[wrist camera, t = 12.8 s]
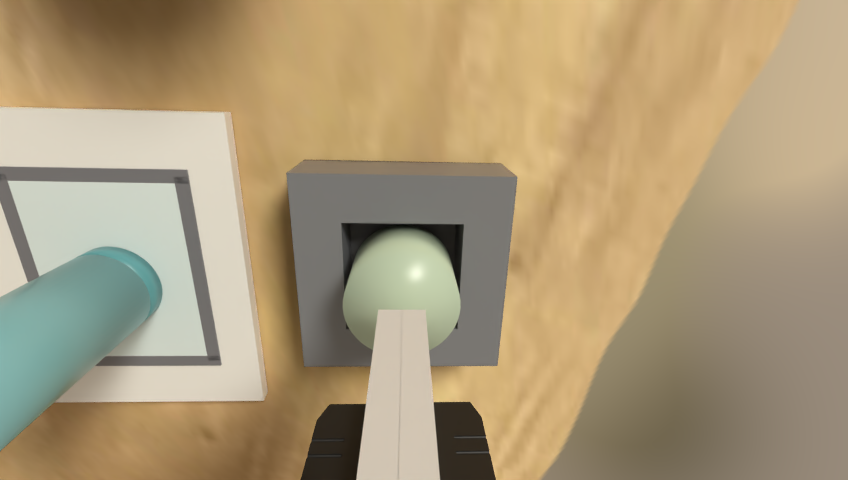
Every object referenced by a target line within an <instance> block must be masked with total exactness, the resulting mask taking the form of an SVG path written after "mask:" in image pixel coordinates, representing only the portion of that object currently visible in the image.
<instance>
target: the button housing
mask: <svg viewBox="0 0 848 480" xmlns="http://www.w3.org/2000/svg"><path fill="white" fill-rule="evenodd" d="M286 174H287V185H288V195H289V206H290V217H291V228H292V239H293V250H294V261H295V272H296V283H297V293H298V304H299V315H300V326H301V337H302V348H303V359H304V367H334V366H371V362H372V354H373V350H372V349H370V348H368V347H367V346H365V345H364V344H362V343H361V342H360V341H359V340H358V339H357V338H356V337H355V336H354V335H353V334H352V332H351V331H350V329H349V327H348V325H347V323H346V321H345V317H344V314H343V297H344V292H345V289H346V285H347V282H348V279H349V275H350V272H351V269H352V265H353V262H354V259H355V256H356V253H357V251H358V249H359V247H360V246H361V244H362V243H363V242H364V241H365V240H366V239H367V238H368V237H369V236H370V235H371V234H373V233H374V232H376V231H378V230H380V229H382V228H385V227H388V226H392V225H402V224H404V225H413V226H417V227H420V228H423V229H425V230H427V231H429V232H430V233H432V234H434V235H435V236H436V237H437V238H438V239H439V240H440V241H441V242H442V243H443V244H444V246H445V247H446V249H447V251H448V253H449V256H450V259H451V263H452V267H453V271H454V275H455V279H456V283H457V287H458V291H459V295H460V306H461V308H460V314H459V318H458V321H457V323H456V325H455V327H454V329H453V331H452V332H451V333H450V335H449V336H448V337H447V338H446V339H445V340H444V341H443V342H442V343H441V344H439V345H438V346H436V347H435V348H433V349H431V350H429V356H430V366H497V365H498V355H499V346H500V337H501V327H502V318H503V308H504V299H505V289H506V280H507V270H508V261H509V252H510V242H511V233H512V223H513V214H514V204H515V195H516V185H517V176H516V175H514V174H513V173H512V172H511V171H510V170H508V169H507V168H506V167H505V166H504V165H502V164H501V163H449V162H396V161H342V160H304V161H302V162H301V163H299V164H298V165H297V166H295V167H294V168H293V169H291V170H290V171H288V172H287V173H286Z"/></svg>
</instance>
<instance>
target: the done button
mask: <svg viewBox="0 0 848 480" xmlns="http://www.w3.org/2000/svg"><path fill="white" fill-rule="evenodd" d="M460 308H461V306H460V295H459V291H458V287H457V283H456V279H455V275H454V271H453V267H452V263H451V259H450V256H449V253H448V251H447V249H446V247H445V246H444V244H443V243H442V242H441V241H440V240H439V239H438V238H437V237H436V236H435V235H434V234H432V233H430V232H429V231H427V230H425V229H423V228H420V227H417V226H413V225H404V224H402V225H392V226H388V227H385V228H382V229H380V230H378V231H376V232H374V233H373V234H371V235H370V236H369V237H368V238H367V239H366V240H365V241H364V242H363V243H362V244H361V246H360V247H359V249H358V251H357V253H356V256H355V259H354V262H353V265H352V269H351V272H350V275H349V279H348V282H347V285H346V289H345V292H344V297H343V314H344V317H345V321H346V323H347V325H348V327H349V329H350V331H351V332H352V334H353V335H354V336H355V337H356V338H357V339H358V340H359V341H360V342H361V343H362V344H364V345H365V346H367V347H368V348H370V349H372V350H373V346H374V339H375V331H376V323H377V316H378V310H426V321H427V332H428V344H429V350H431V349H433V348H435V347H436V346H438V345H439V344H441V343H442V342H443V341H444V340H445V339H446V338H447V337H448V336H449V335H450V333H451V332H452V331H453V329H454V327H455V325H456V323H457V321H458V318H459V314H460Z"/></svg>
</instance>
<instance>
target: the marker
mask: <svg viewBox="0 0 848 480" xmlns="http://www.w3.org/2000/svg"><path fill="white" fill-rule="evenodd" d="M162 295H163V294H162V285H161V281H160V279H159V277H158V275H157V273H156V271H155V270H154V269H153V268H152V266H151V265H150V264H149V263H148V262H147V261H145V260H144V259H143V258H142V257H140V256H139V255H137V254H135V253H133V252H131V251H129V250H126V249H123V248H118V247H110V246H106V247H98V248H94V249H92V250H90V251H88V252H86V253H84V254H82V255H80V256H78V257H76V258H74V259H72V260H70V261H68V262H66V263H65V264H63V265H61V266H59V267H57V268H55V269H53V270H51V271H49V272H47V273H45V274H43V275H41V276H40V277H38V278H36V279H34V280H32V281H30V282H28V283H26V284H24V285H22V286H20V287H18V288H16V289H15V290H13V291H11V292H9V293H7V294H5V295H3V296H1V297H0V451H1V450H2V449H3V448H4V447H5V446H6V445H7V444H9V443H10V442H11V441H12V440H13V439H14V438H15V437H16V436H17V435H19V434H20V433H21V432H22V431H23V430H24V429H25V428H26V427H27V426H29V425H30V424H31V423H32V422H33V421H34V420H35V419H36V418H37V417H39V416H40V415H41V414H42V413H43V412H44V411H45V410H46V409H47V408H49V407H50V406H51V405H52V404H53V403H54V402H55V401H56V400H57V399H59V398H60V397H61V396H62V395H63V394H64V393H65V392H66V391H68V390H69V389H70V388H71V387H72V386H73V385H74V384H75V383H76V382H78V381H79V380H80V379H81V378H82V377H83V376H84V375H85V374H86V373H88V372H89V371H90V370H91V369H92V368H93V367H94V366H95V365H96V364H98V363H99V362H100V361H101V360H102V359H103V358H104V357H105V356H106V355H108V354H109V353H110V352H111V351H112V350H113V349H114V348H115V347H116V346H118V345H119V344H120V343H121V342H122V341H123V340H124V339H125V338H126V337H128V336H129V335H130V334H131V333H132V332H133V331H134V330H135V329H136V328H138V327H139V326H140V325H141V324H142V323H143V322H144V321H145V320H146V319H148V318H149V317H150V316H151V315H152V314H153V313H154V312H155V311H156V310H157V309H158V307H159V305H160V303H161V300H162Z"/></svg>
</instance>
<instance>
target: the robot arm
mask: <svg viewBox="0 0 848 480" xmlns="http://www.w3.org/2000/svg"><path fill="white" fill-rule="evenodd" d="M301 480H496V478H495V474H494V470H493V465H492V461H491V456H490V454H489V448H488V443H487V439H486V435H485V430H484V426H483V421H482V417H481V416H480V415H479V413H478V412H477V411H476V409H475V408H474V407H473V405H472V404H471V403H470V402H433V391H432V379H431V368H430V356H429V344H428V332H427V321H426V310H378V316H377V323H376V331H375V339H374V346H373V354H372V362H371V370H370V377H369V385H368V393H367V401H366V404H330V405H329V406H328V407H327V408H326V410H325V411H324V412H323V413H322V415H321V416H320V417H319V418H318V420H317V422H316V426H315V429H314V433H313V437H312V442H311V444H310V448H309V451H308V457H307V459H306V462H305V466H304V470H303V474H302V477H301Z"/></svg>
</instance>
